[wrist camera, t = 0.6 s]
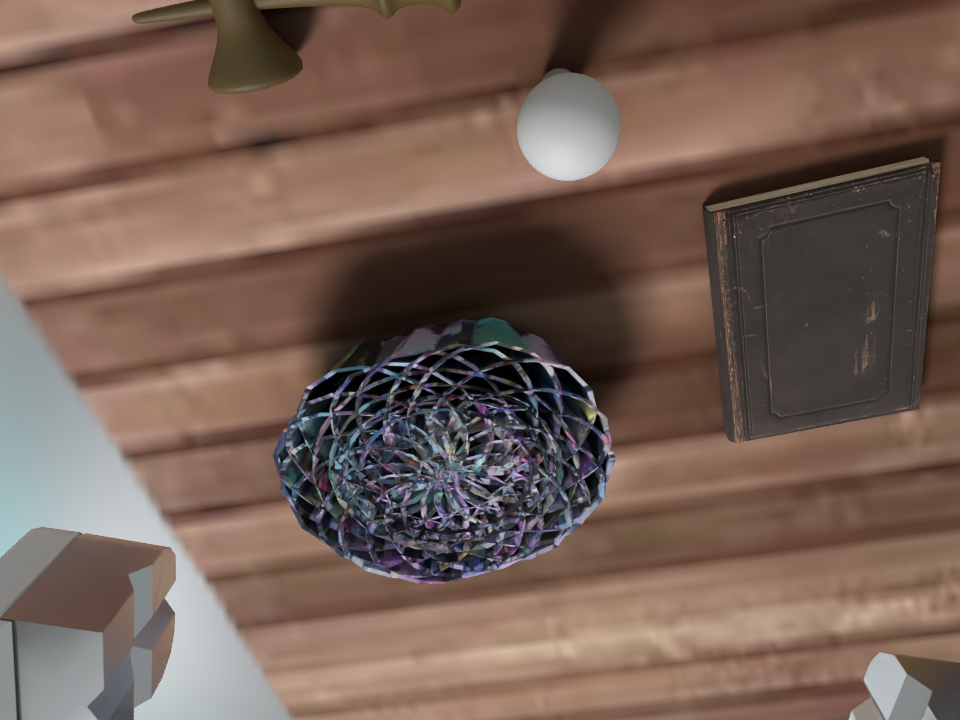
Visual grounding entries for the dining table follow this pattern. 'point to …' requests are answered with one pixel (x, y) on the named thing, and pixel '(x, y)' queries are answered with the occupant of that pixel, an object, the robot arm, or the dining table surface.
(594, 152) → the lightbulb
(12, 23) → the dining table surface
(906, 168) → the hardcover book
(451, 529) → the decorative bowl
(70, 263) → the dining table surface
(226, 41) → the kendama
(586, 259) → the dining table surface
